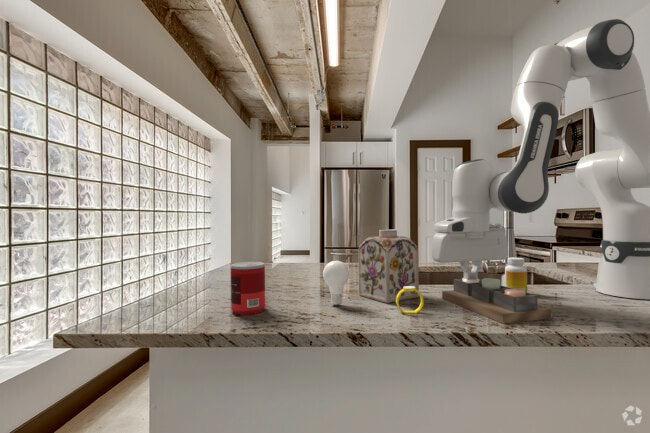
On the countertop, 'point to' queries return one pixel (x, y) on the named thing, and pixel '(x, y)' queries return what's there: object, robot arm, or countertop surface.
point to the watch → (409, 288)
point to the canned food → (247, 287)
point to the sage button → (490, 283)
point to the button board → (496, 302)
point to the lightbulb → (336, 279)
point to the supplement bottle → (516, 274)
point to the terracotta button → (514, 292)
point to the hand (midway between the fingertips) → (470, 278)
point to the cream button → (470, 280)
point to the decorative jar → (388, 267)
